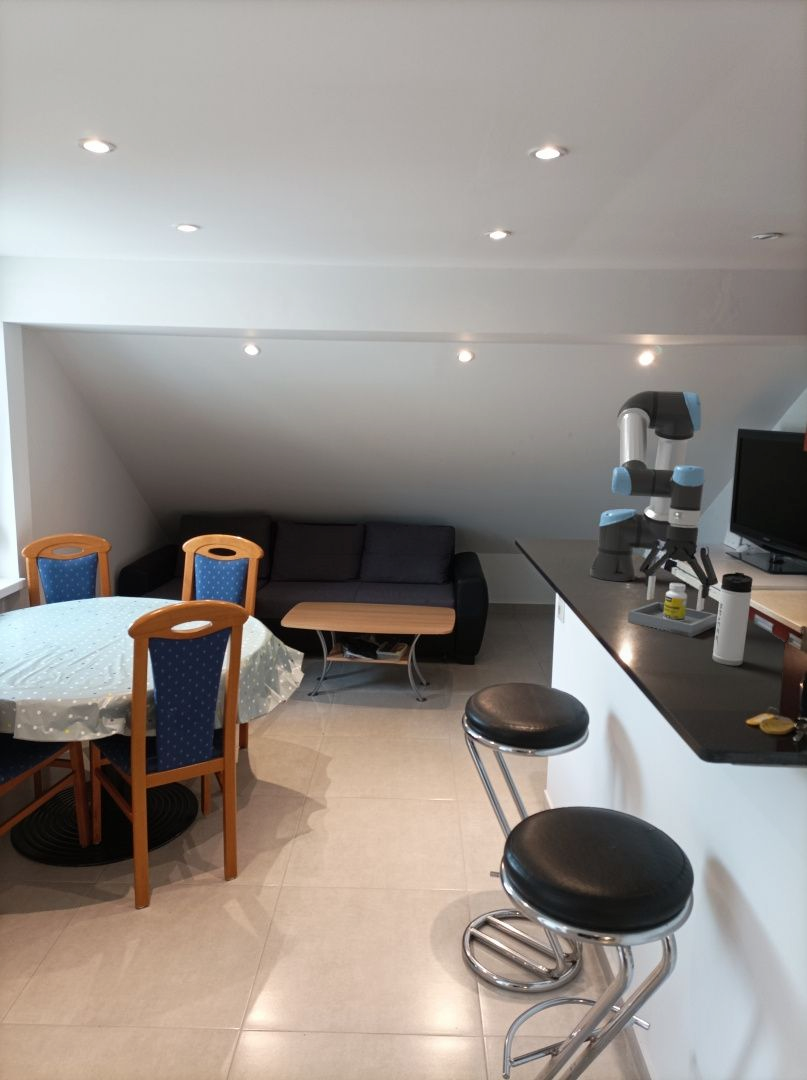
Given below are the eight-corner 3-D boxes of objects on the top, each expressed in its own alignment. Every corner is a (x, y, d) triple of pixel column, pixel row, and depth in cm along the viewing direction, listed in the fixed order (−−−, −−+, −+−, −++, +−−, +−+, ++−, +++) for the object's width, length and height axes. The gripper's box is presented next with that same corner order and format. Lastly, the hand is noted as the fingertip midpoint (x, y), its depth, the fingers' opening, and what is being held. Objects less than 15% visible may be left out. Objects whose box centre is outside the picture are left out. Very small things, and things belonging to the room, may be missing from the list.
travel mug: (743, 660, 170) (754, 574, 167) (740, 667, 165) (751, 579, 162) (714, 654, 174) (724, 570, 170) (710, 662, 168) (720, 575, 165)
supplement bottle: (659, 619, 199) (663, 583, 198) (668, 616, 203) (673, 581, 201) (678, 623, 195) (682, 587, 194) (688, 620, 199) (692, 585, 197)
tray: (655, 612, 211) (656, 601, 211) (716, 625, 200) (717, 614, 199) (627, 622, 199) (628, 611, 198) (690, 637, 187) (692, 625, 187)
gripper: (631, 520, 200) (624, 596, 204) (726, 533, 184) (716, 617, 187) (644, 518, 206) (636, 592, 210) (737, 530, 189) (727, 612, 193)
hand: (674, 604), depth 198 cm, fingers open, 13 cm apart
